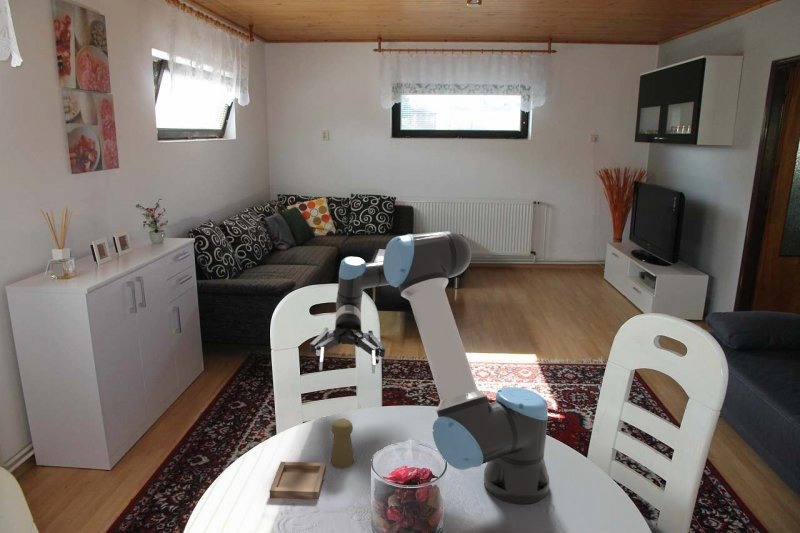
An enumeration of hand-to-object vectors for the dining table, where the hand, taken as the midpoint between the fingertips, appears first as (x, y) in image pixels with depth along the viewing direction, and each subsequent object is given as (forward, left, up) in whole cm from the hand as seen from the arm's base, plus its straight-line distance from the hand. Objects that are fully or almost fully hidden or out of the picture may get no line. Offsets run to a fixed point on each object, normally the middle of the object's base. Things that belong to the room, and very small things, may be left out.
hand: (347, 367), depth 147 cm
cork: (0, +10, -21) cm, 23 cm away
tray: (+9, +19, -21) cm, 30 cm away
